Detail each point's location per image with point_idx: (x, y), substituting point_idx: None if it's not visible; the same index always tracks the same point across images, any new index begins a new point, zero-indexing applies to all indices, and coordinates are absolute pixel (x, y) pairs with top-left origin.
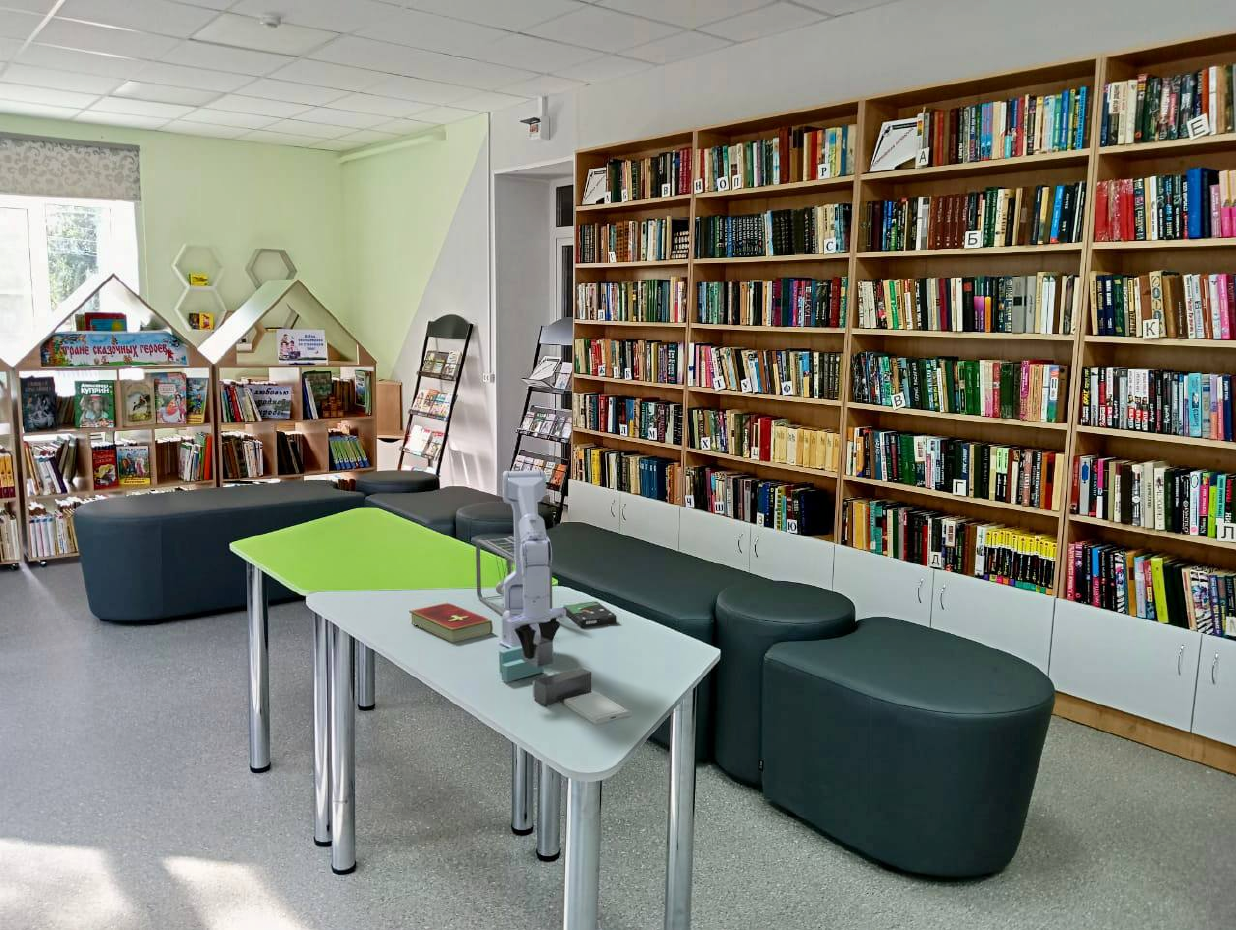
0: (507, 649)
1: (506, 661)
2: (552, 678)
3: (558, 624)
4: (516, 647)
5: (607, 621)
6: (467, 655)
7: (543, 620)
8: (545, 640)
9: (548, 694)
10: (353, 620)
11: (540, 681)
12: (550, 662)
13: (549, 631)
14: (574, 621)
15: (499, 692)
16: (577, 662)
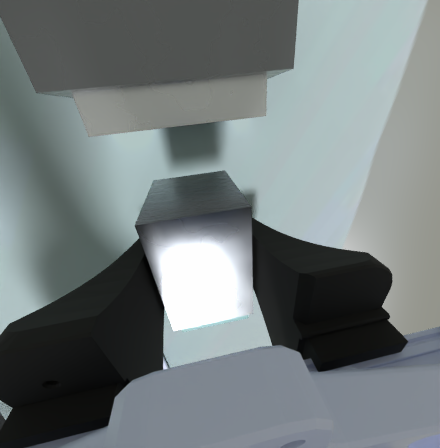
0: (226, 321)
1: None
2: (221, 30)
3: (4, 342)
4: (200, 325)
5: None
6: (235, 349)
7: (317, 392)
8: (172, 253)
9: None
10: None
11: (284, 31)
12: (164, 181)
13: (130, 299)
14: (2, 422)
15: (292, 191)
16: (41, 272)
